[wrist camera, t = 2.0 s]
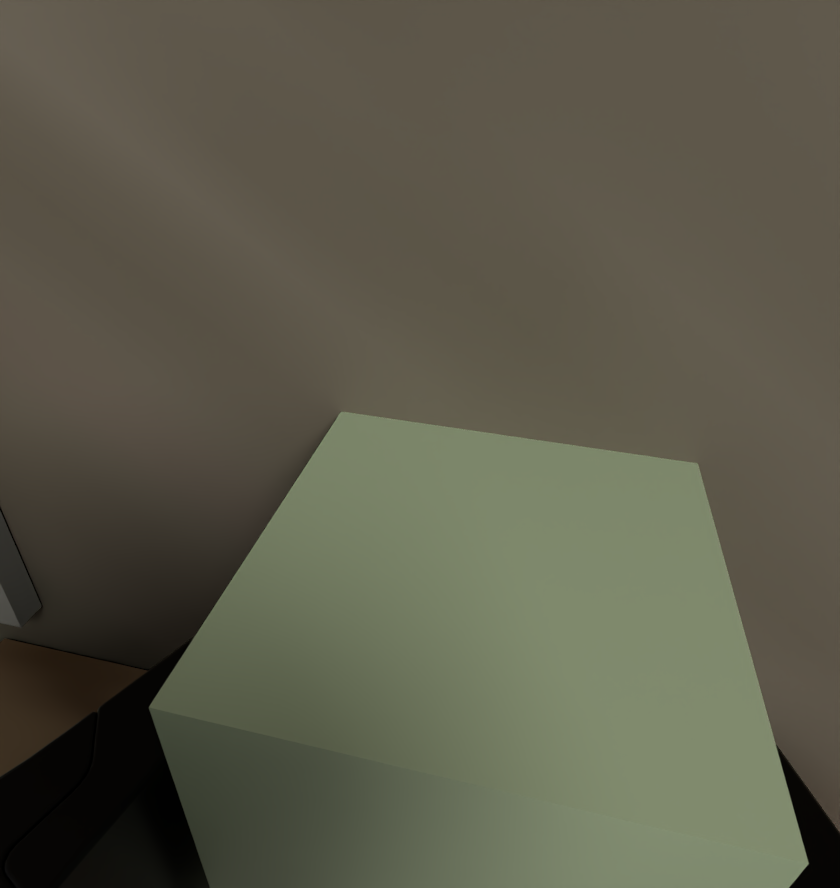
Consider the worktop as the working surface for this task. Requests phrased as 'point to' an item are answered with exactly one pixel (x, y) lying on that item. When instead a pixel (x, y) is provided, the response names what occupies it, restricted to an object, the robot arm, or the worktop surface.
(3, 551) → the slate card
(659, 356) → the worktop surface
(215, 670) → the sage cube
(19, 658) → the walnut base block
